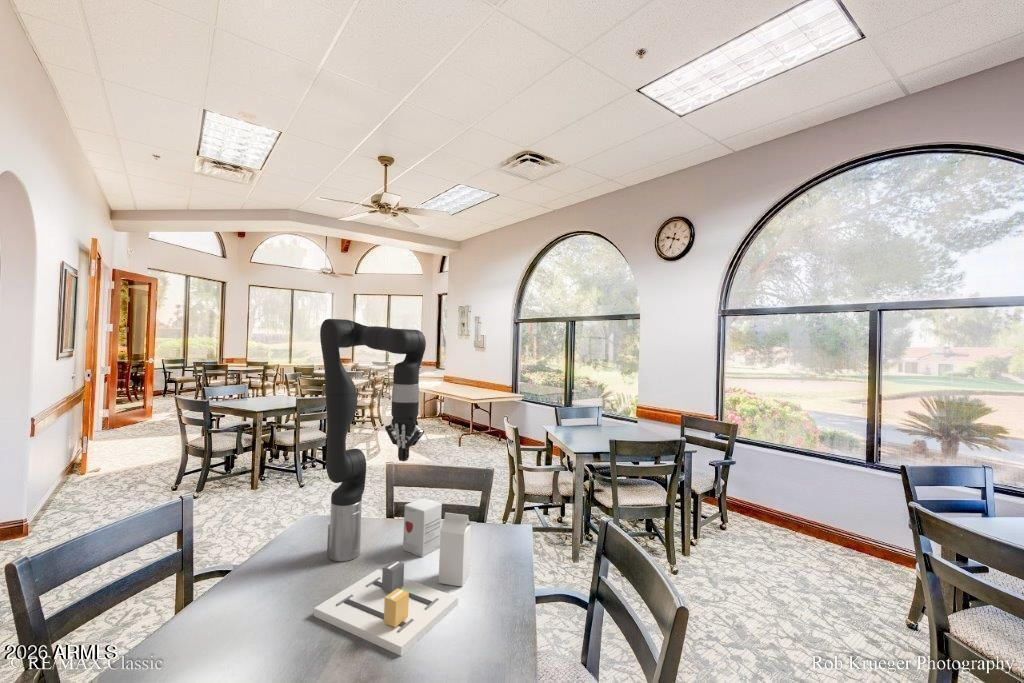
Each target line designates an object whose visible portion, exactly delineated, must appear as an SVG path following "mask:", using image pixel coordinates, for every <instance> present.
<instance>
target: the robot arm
mask: <svg viewBox="0 0 1024 683" xmlns="http://www.w3.org/2000/svg"><path fill="white" fill-rule="evenodd" d="M319 329H320V330H319V339H320V346H321V354H322V359H323V360H322V361H323V369H324V381H325V382H324V383H325V384H324V385H325V393H324V394H325V407H326V408H325V410H326V424H327V425H326V426H327V427H326V429H327V430H326V431H327V434H326V435H327V436H326V437H327V438H326V455H325V457H326V458H325V465H326V466H325V468H326V474H327V477H328V479H329V481H331V482H332V483H334V484H340V485H339V486H338V487H337V488H336V489H334V490H333V491H332V492H331V496H330V523H329V524H328V526H327V541H326V542H327V547H326V548H327V549H326V555H327V556H329V557H328V558H329V560H332V561H335V562H347V561H350V560H351V561H352V560H353V559H355V558H357V557H359V556H360V553H361V537H362V535H361V532H362V531H361V530H362V504H363V502H362V500H363V499H362V498H363V494H364V491H365V487H366V478H367V459H366V455H365V454H364V452H363V450H361V449H360V448H351V449H346V448H347V447H346V444H347V443H346V441H347V435H348V431H349V430H350V426H351V425H352V422H353V420H354V418H355V416H356V413H357V410H358V409H357V408H358V400H357V396H358V395H357V388H356V385H355V383H354V381H353V379H352V378H351V376H350V375H349V373H348V371H347V370H346V368H345V367H344V365H343V363H342V360H341V355H340V349H343V348H344V349H345V348H348V349H349V348H351V347H357V346H359V347H360V346H366V347H368V348H370V349H373V350H377V351H382V352H383V351H384V352H388V353H391V354H397V355H405V357H404V360H402V361H401V362H398V363H397V362H396V364H395V365H394V366H393V381H392V390H391V416H392V419H391V423H390V424H388V425H385V426H384V429H385V431H386V433H387V435H388V437H389V439H390V441H391V443H392V445H395V446H396V447H397V452H398V453H397V458H398V461H400V462H407V461H408V459H409V458H410V448H411V447H414V446H416V445H417V443H418V442H419V440H421V438H422V437H423V435H424V434H425V429H422V428H421V427H419V422H418V416H419V412H420V411H419V409H420V408H419V407H420V406H419V404H420V387H419V384H420V383H419V380H420V379H419V378H420V368H421V364H422V363H423V362H422V361H423V358H424V355H425V351H426V346H427V345H426V344H427V341H426V336H425V334H424V333H423V331H421V330H418V329H410V328H409V329H408V328H407V329H406V328H392V327H387V326H376V325H375V326H369V325H365V324H361V323H358V322H355V321H354V320H349V319H340V318H326V319H324V320H323V322H322V323H321V325H320V328H319Z"/></svg>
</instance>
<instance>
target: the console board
mask: <svg viewBox="0 0 1024 683" xmlns="http://www.w3.org/2000/svg"><path fill="white" fill-rule="evenodd" d="M382 570H383V569H379V568H378V569H376V570H374V571H373V572H370V573H369V574H368V575H367V576H364V577H363V578H360V579H359V580H357V581H356V582H355V583H353V584H351V585H349V586H348V587H346V588H344V589H343V590H342V591H340V592H338V593H337V594H335V595H333V596H331V597H330V598H329V599H327V600H325V601H323V602H322V603H320V604H318V605H316V606H315V607H314V608H313V617H315V618H318V619H319V620H322V621H324V622H326V623H327V624H330V625H333V626H335V627H337V628H339V629H340V630H343V631H345V632H348V633H350V634H352V635H354V636H357V637H359V638H361V639H363V640H365V641H368V642H370V643H372V644H374V645H376V646H379V647H380V648H382V649H385V650H386V651H389V652H391V653H393V654H396V655H398V656H400V657H402V656H403V655H404V654H405V653H406V652H407V651H409V650H410V649H411V648H412V647H414V646H415V645H416V644H417V642H419V641H420V640H421V639H422V638H423V637H424V636H425V635H427V633H428V632H430V631H431V630H432V629H433V628H434V627H435V626H436V625H437V624H439V623H440V621H442V620H443V619H444V618H445V617H446V616H447V615H449V613H450V612H452V611H453V610H454V609H455V608H456V607H457V606H458V605H459V597H458V596H455V595H453V594H450V593H449V592H448V593H447V592H444V591H442V590H438V589H437V588H433V587H430V586H428V585H425V584H421V583H420V582H416V581H413V580H411V579H408V578H405V577H404V583H403V586H402V587H401V588H399V589H401V590H404V591H407V592H409V603H408V618H406V619H405V620H404V621H403V622H401V623H400V624H399V625H398V626H396V627H393V626H390V625H388V624H386V623H384V601H385V597H386V596H387V595H389V594H390V593H389V592H386V591H383V590H382Z"/></svg>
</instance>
